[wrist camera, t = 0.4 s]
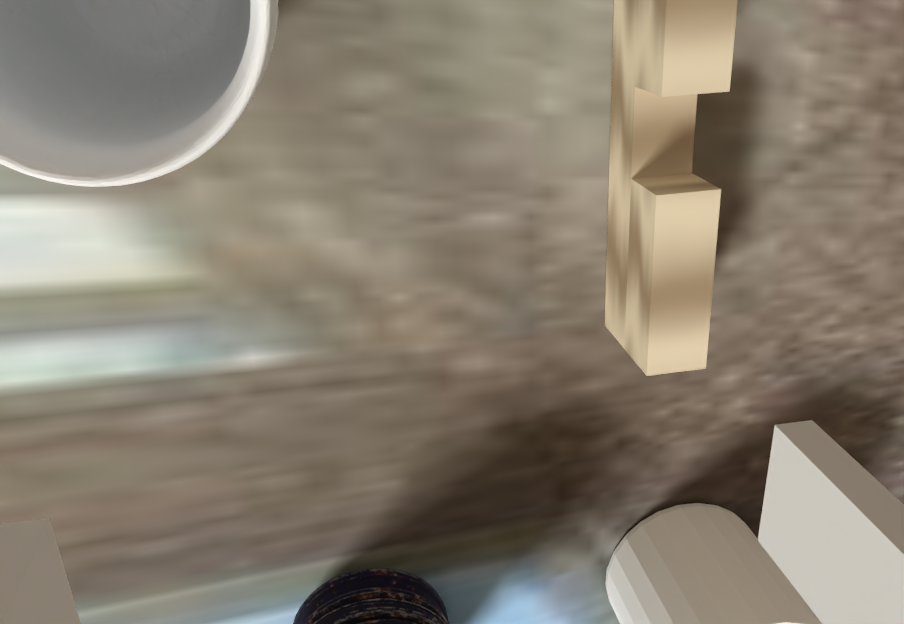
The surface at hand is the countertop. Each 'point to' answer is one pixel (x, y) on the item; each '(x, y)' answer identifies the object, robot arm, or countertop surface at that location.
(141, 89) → the mug
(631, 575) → the mug
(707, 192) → the notched wooden beam
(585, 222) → the countertop surface
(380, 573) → the storage jar
